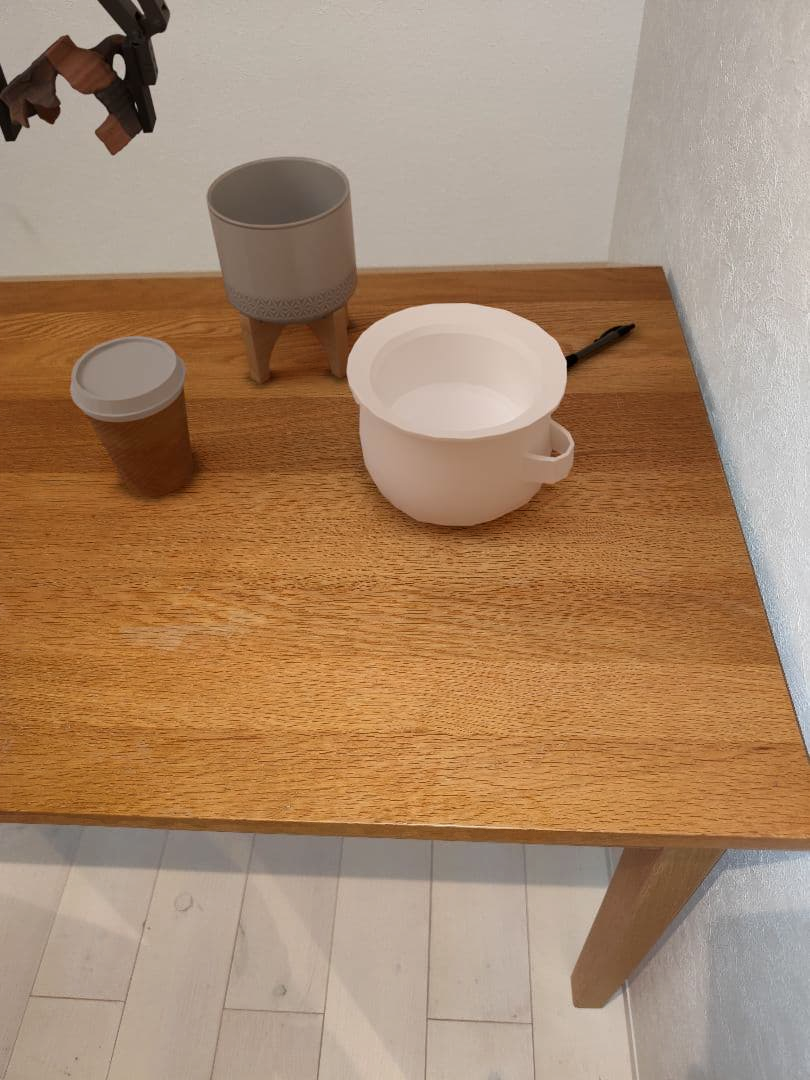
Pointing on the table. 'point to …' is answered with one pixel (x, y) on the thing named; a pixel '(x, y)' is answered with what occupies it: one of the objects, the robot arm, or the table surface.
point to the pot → (459, 411)
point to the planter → (286, 253)
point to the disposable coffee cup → (137, 410)
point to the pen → (599, 343)
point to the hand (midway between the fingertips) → (82, 130)
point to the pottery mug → (77, 88)
